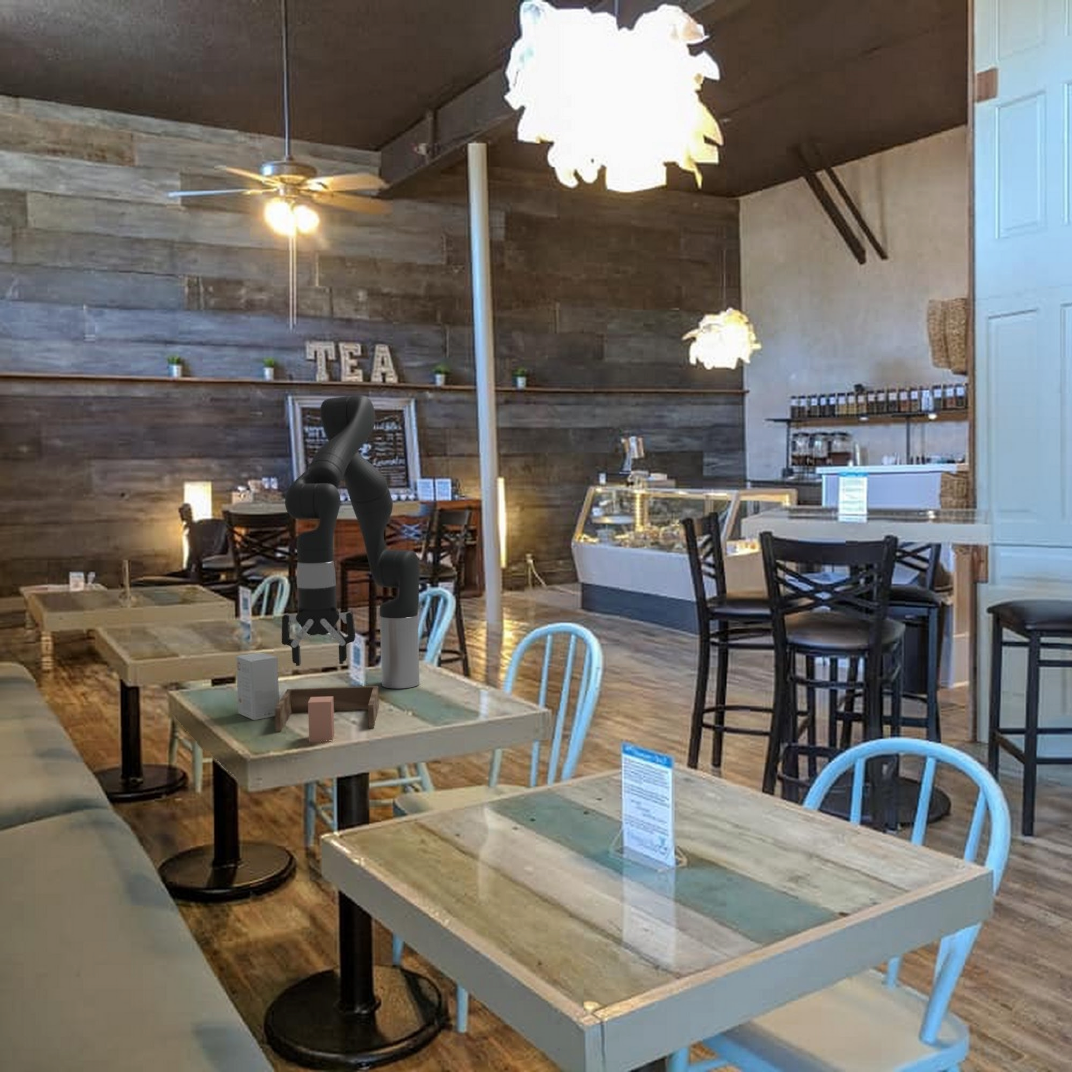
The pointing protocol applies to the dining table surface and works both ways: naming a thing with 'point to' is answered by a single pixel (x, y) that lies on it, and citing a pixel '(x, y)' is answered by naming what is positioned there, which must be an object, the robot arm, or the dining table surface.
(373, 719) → the u-shaped bracket
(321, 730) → the terracotta block
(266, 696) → the small box
